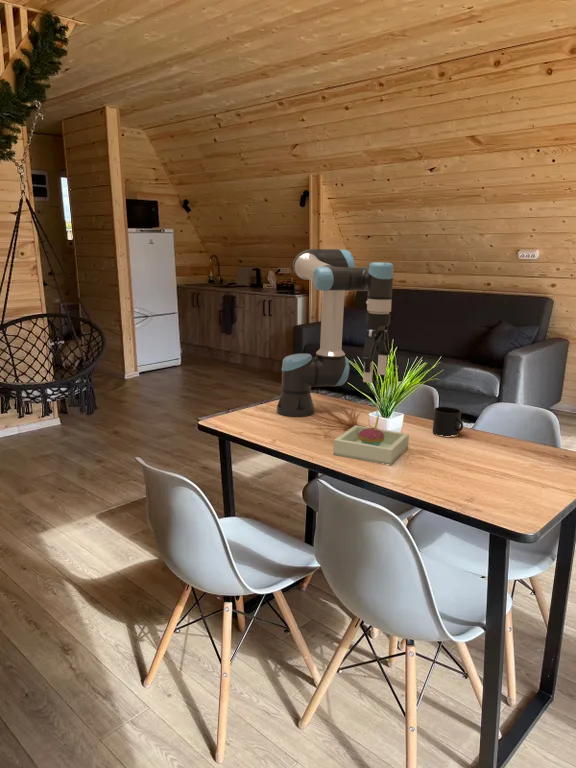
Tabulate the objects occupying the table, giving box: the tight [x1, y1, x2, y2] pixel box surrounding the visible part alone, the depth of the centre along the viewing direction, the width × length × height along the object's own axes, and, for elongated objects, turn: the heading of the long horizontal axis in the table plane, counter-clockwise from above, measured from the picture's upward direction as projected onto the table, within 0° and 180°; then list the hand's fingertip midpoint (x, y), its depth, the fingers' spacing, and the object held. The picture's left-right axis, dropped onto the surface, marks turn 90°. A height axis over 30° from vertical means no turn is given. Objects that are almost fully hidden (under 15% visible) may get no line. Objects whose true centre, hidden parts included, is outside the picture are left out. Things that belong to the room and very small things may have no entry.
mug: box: [432, 406, 464, 436], centre depth 220 cm, size 9×12×9 cm
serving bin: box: [333, 424, 410, 466], centre depth 200 cm, size 19×19×5 cm
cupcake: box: [358, 414, 384, 446], centre depth 198 cm, size 9×8×12 cm
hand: (374, 378), depth 195 cm, fingers open, 13 cm apart
